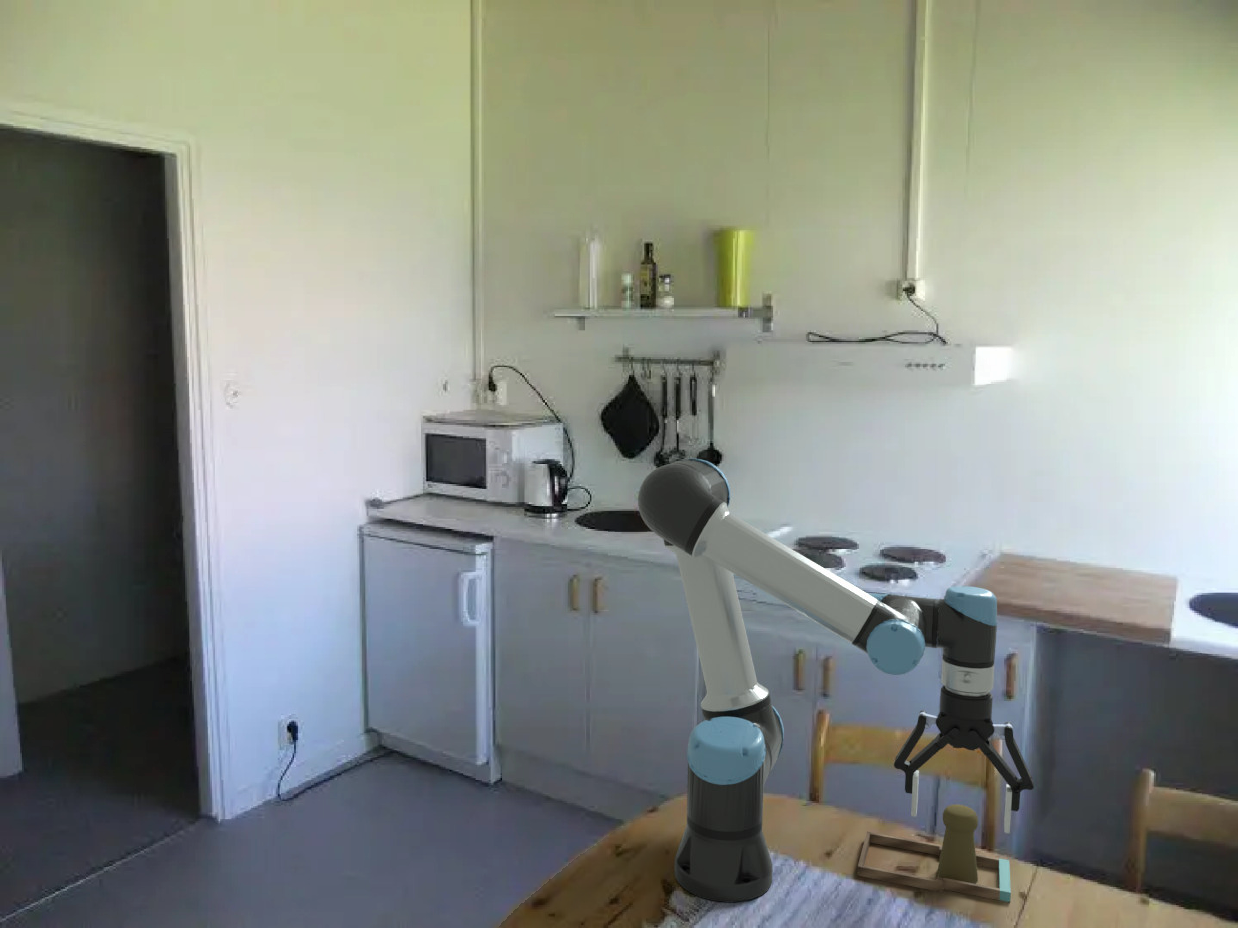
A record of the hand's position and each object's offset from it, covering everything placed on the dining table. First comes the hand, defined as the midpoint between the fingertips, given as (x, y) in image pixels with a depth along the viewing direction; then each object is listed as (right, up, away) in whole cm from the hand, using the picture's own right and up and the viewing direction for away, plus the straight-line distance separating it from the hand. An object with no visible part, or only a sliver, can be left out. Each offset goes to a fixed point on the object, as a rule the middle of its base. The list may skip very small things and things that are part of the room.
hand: (959, 821), depth 147 cm
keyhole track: (-3, -9, +2) cm, 9 cm away
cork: (0, -9, +1) cm, 9 cm away
